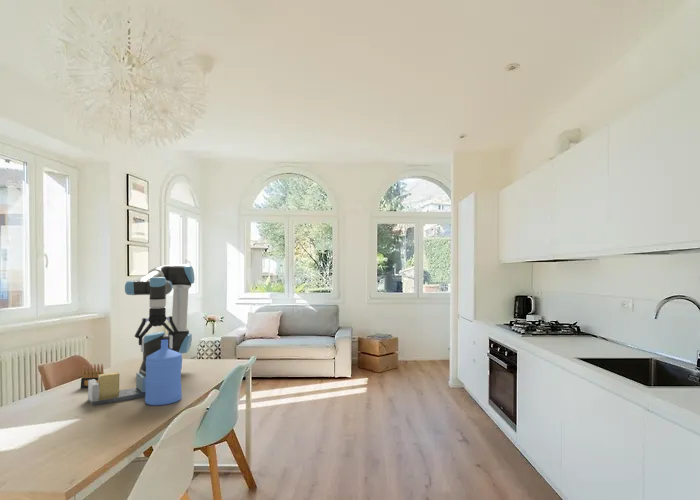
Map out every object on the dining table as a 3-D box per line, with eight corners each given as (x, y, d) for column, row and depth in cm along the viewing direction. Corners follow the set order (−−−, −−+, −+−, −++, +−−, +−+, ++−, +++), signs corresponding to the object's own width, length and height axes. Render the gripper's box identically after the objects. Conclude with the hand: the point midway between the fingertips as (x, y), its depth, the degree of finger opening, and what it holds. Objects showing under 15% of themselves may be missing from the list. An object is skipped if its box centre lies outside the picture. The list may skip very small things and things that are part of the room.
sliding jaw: (144, 385, 210) (145, 368, 211) (151, 390, 201) (151, 373, 201) (136, 387, 208) (136, 370, 208) (142, 392, 199) (142, 374, 199)
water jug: (168, 407, 184) (169, 343, 185) (137, 405, 187) (138, 342, 189) (188, 396, 199) (189, 337, 201) (159, 394, 203) (160, 337, 204)
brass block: (117, 393, 199) (117, 371, 199) (119, 394, 196) (119, 373, 196) (98, 396, 194) (98, 374, 194) (99, 398, 191) (100, 376, 191)
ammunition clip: (104, 386, 218) (104, 363, 219) (102, 387, 216) (103, 364, 217) (82, 387, 217) (82, 364, 217) (80, 388, 215) (81, 364, 215)
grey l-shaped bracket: (147, 389, 211) (148, 371, 212) (154, 395, 202) (154, 375, 202) (88, 400, 195) (88, 380, 195) (92, 406, 185) (92, 385, 186)
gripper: (180, 305, 221) (180, 345, 220) (128, 308, 205) (127, 352, 204) (185, 306, 215) (184, 347, 214) (132, 309, 199) (131, 354, 198)
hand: (156, 349), depth 209 cm, fingers open, 13 cm apart
